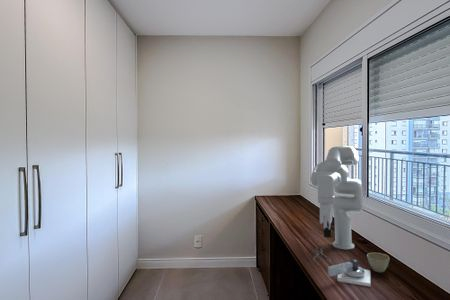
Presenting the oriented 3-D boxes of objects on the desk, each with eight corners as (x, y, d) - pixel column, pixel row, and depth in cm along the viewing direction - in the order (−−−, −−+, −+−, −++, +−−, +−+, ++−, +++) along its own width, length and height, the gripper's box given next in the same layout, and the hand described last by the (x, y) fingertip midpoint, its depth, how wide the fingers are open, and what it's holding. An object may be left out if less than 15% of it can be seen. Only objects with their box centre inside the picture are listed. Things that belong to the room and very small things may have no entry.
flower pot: (368, 264, 151) (367, 251, 151) (389, 268, 146) (389, 254, 146) (366, 272, 142) (366, 258, 142) (389, 276, 137) (389, 261, 137)
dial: (354, 267, 144) (353, 255, 144) (368, 275, 136) (368, 262, 136) (323, 275, 137) (322, 262, 137) (336, 284, 129) (335, 270, 129)
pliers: (315, 262, 155) (305, 248, 175) (315, 264, 155) (305, 250, 175) (333, 261, 155) (320, 247, 175) (333, 263, 156) (320, 249, 175)
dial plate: (340, 268, 148) (340, 265, 148) (370, 273, 142) (370, 269, 141) (337, 281, 135) (337, 277, 135) (370, 286, 129) (370, 282, 129)
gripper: (320, 196, 146) (321, 231, 147) (315, 202, 132) (317, 241, 133) (336, 196, 142) (337, 232, 143) (332, 203, 129) (334, 243, 130)
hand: (327, 236), depth 138 cm, fingers closed
